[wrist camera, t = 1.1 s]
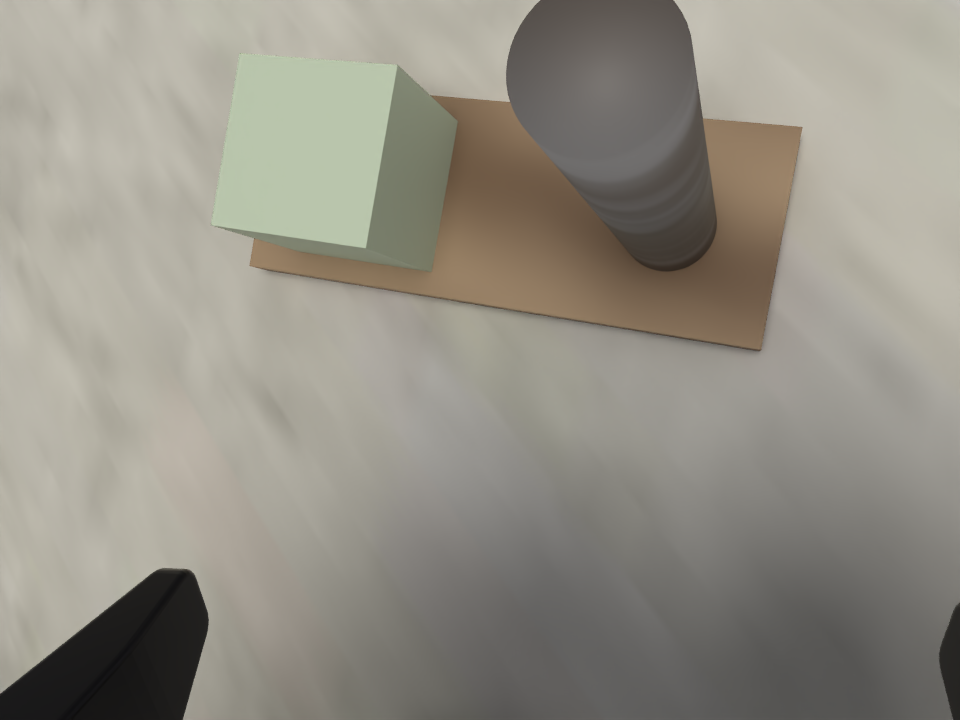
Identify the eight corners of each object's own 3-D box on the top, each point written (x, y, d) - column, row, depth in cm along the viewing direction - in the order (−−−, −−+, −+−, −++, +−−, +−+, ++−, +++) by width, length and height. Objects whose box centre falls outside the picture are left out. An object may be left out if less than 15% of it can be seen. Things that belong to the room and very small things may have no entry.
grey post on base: (759, 351, 23) (782, 311, 11) (266, 269, 28) (-114, 178, 15) (800, 137, 23) (869, -154, 11) (296, 93, 28) (-64, -144, 15)
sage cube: (431, 271, 25) (365, 248, 21) (298, 251, 26) (210, 225, 22) (458, 121, 25) (397, 64, 20) (323, 108, 26) (239, 53, 22)
